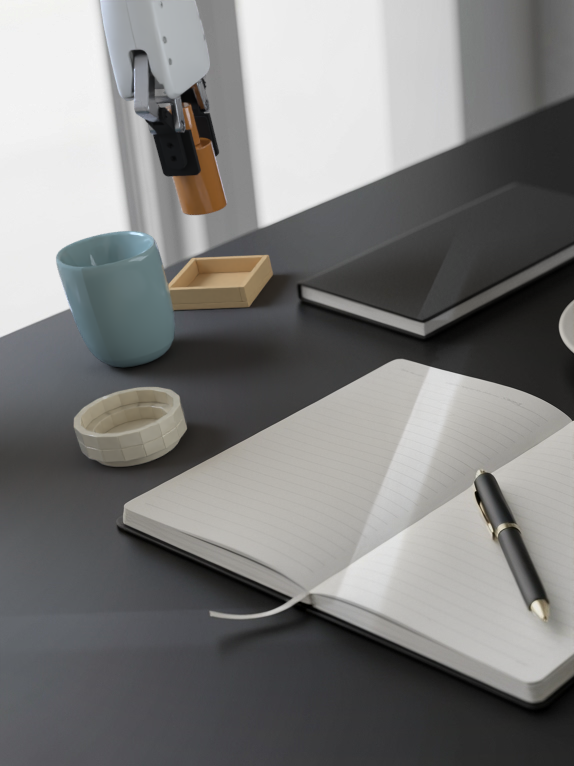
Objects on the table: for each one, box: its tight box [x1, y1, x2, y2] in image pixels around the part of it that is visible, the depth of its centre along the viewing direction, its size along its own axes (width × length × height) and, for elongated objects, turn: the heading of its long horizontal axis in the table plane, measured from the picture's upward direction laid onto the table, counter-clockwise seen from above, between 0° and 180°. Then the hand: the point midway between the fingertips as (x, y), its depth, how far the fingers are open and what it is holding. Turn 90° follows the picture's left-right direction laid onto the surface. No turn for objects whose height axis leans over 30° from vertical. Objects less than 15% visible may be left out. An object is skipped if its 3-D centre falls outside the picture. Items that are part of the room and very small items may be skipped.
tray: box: [168, 254, 274, 311], centre depth 120 cm, size 8×8×2 cm
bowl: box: [73, 386, 188, 468], centre depth 95 cm, size 7×7×3 cm
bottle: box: [164, 103, 228, 216], centre depth 114 cm, size 4×4×10 cm
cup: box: [55, 230, 176, 368], centre depth 107 cm, size 8×8×10 cm
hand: (192, 163), depth 115 cm, fingers closed on bottle, 4 cm apart
